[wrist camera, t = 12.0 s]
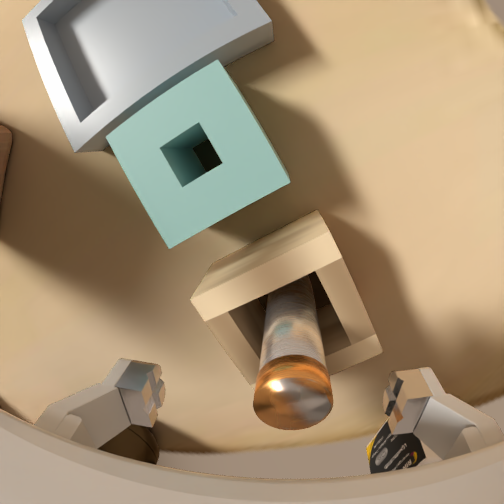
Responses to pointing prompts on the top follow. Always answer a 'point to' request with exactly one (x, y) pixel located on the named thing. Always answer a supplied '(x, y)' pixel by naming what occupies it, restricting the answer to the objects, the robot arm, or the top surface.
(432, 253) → the top surface
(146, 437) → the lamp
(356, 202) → the top surface
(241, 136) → the narrow bore block
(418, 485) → the robot arm
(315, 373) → the cylinder
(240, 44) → the tray
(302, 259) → the wide bore block
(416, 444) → the medicine bottle
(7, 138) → the block
